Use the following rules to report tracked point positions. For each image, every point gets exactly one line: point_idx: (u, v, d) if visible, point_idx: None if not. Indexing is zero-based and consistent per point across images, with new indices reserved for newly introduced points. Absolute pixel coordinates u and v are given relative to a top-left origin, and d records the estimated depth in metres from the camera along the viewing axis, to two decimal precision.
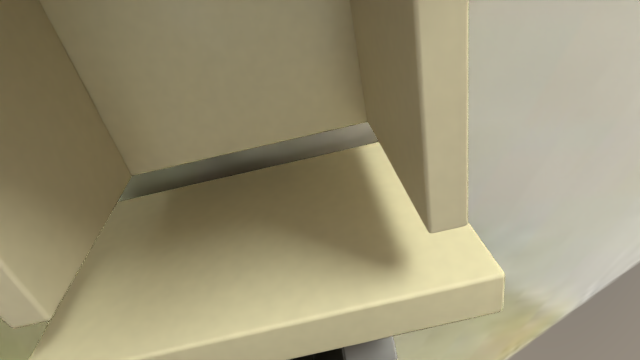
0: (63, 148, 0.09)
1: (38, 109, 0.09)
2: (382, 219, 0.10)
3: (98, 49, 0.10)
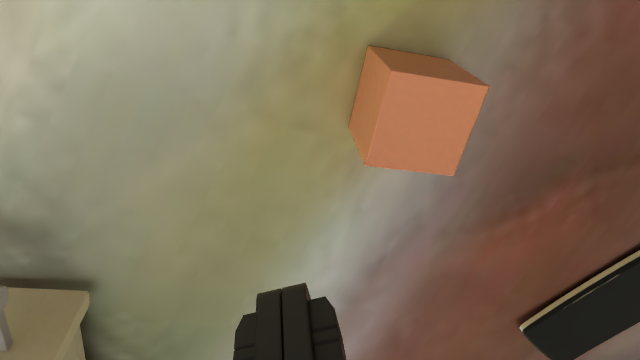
0: None
1: None
2: None
3: None
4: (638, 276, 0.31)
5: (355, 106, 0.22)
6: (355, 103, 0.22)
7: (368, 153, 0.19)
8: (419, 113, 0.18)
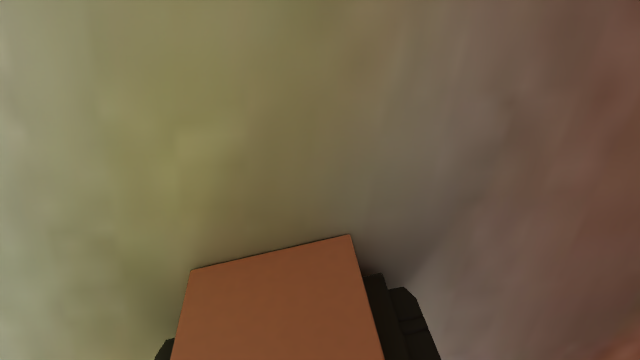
0: None
1: None
2: None
3: None
4: None
5: None
6: None
7: None
8: None
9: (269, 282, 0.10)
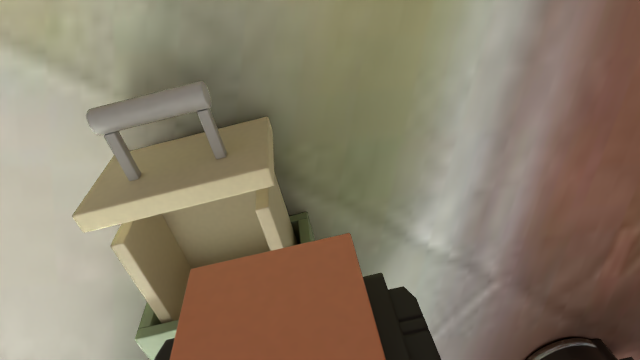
0: None
1: None
2: None
3: None
4: None
5: None
6: None
7: None
8: None
9: (269, 281, 0.10)
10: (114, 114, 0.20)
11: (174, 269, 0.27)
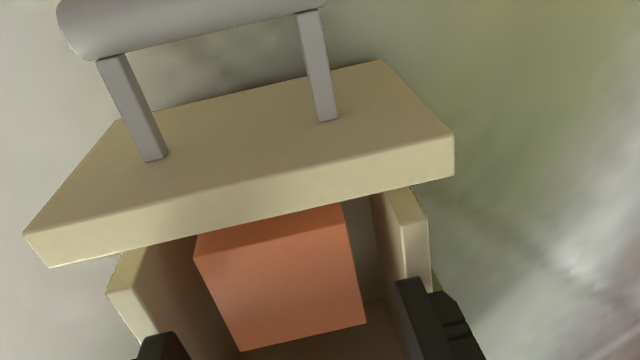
0: (380, 217, 0.15)
1: (383, 238, 0.15)
2: None
3: (354, 218, 0.17)
4: None
5: None
6: None
7: (235, 340, 0.14)
8: (267, 284, 0.13)
9: None
10: (119, 8, 0.09)
11: (211, 317, 0.16)
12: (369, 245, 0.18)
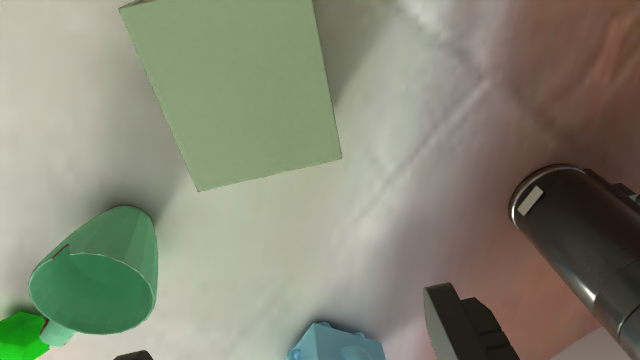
0: None
1: None
2: None
3: None
4: None
5: None
6: None
7: None
8: None
9: None
10: None
11: None
12: None
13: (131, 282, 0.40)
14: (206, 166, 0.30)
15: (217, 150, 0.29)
